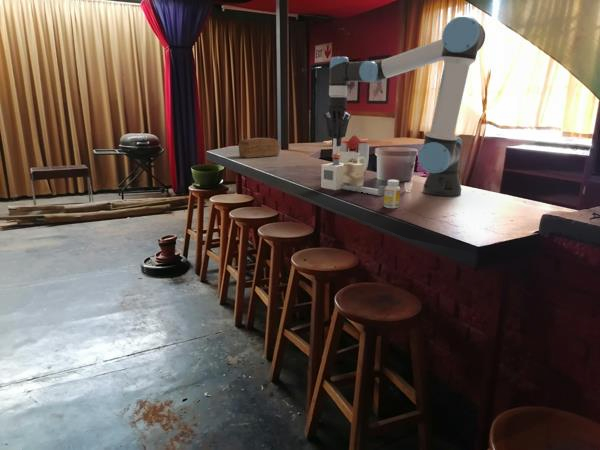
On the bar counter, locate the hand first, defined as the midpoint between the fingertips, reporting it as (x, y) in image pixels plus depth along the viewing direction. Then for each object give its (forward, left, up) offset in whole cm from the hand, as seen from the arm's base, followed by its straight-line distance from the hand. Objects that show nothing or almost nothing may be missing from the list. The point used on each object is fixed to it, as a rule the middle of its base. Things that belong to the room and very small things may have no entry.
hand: (336, 153), depth 186 cm
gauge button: (0, 0, -8) cm, 8 cm away
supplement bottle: (-37, +14, -15) cm, 42 cm away
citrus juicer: (+14, -32, -15) cm, 38 cm away
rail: (-14, 0, -15) cm, 20 cm away
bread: (+103, -47, -15) cm, 114 cm away
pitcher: (+5, -17, -15) cm, 23 cm away
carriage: (-10, 0, -12) cm, 16 cm away
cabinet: (0, 0, -15) cm, 15 cm away
